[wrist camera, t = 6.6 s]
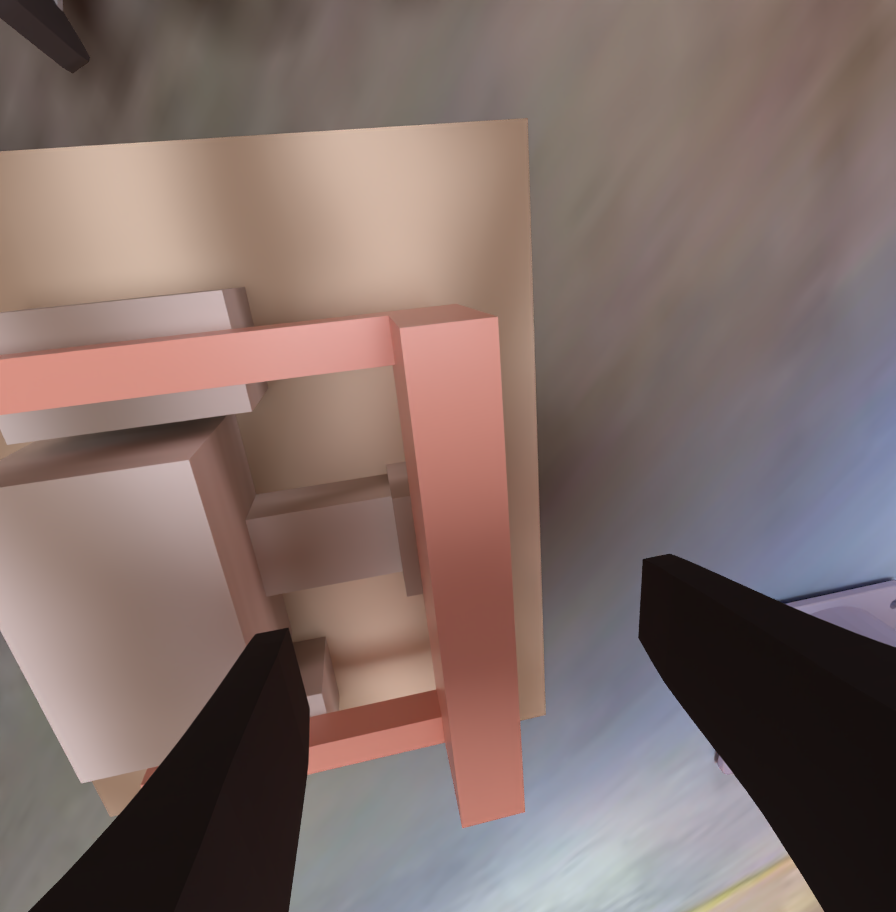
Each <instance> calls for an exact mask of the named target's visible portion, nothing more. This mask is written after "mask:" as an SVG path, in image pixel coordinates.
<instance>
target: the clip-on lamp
mask: <svg viewBox="0 0 896 912" xmlns="http://www.w3.org/2000/svg"><path fill="white" fill-rule="evenodd" d="M0 18H1V19H2V20H4V21H5V22H6V23H7V24H9V25H10V26H11V27H12V28H14V29H15V30H16V31H17V32H19V33H20V34H21V35H22V36H24V37H25V38H26V39H28V40H29V41H30V42H31V43H33V44H34V45H35V46H36V47H38V48H39V49H40V50H41V51H43V52H44V53H45V54H46V55H48V56H49V57H50V58H52V59H53V60H54V61H55V62H57V63H58V64H59V65H60V66H62V67H63V68H65V69H66V70H68V71H70V72H71V73H74V72H75V71H77V70H78V69H79V68H81V67H82V66H84V65H85V64H86V63H88V62H89V59H90V57H89V55H88V53H87V51H86V49H85V48H84V46H83V44H82V42H81V41H80V39H79V37H78V36H77V34H76V32H75V31H74V29H73V27H72V26H71V24H70V22H69V21H68V19H67V17H66V16H65V14H64V12H63V0H0Z"/></svg>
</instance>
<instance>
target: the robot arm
mask: <svg viewBox="0 0 896 912" xmlns="http://www.w3.org/2000/svg"><path fill="white" fill-rule="evenodd" d="M638 638H639V640H640V641H641V643H642V645H643V647H644V648H645V650H646V652H647V654H648V656H649V657H650V659H651V661H652V663H653V664H654V666H655V668H656V669H657V671H658V673H659V674H660V676H661V678H662V679H663V681H664V683H665V684H666V685H667V687H668V688H669V689H670V691H671V692H672V694H673V695H674V696H675V698H676V699H677V700H678V702H679V703H680V704H681V706H682V707H683V708H684V710H685V711H686V712H687V713H688V715H689V716H690V717H691V719H692V720H693V721H694V723H695V724H696V725H697V727H698V728H699V729H700V731H701V732H702V733H703V735H704V736H705V737H706V738H707V740H708V741H709V742H710V744H711V745H712V746H713V748H714V749H715V750H716V752H717V753H718V754H719V758H718V767H719V768H720V769H721V771H722V772H723V773H724V774H734V775H735V776H736V778H737V779H738V780H739V782H740V783H741V784H742V786H743V787H744V788H745V790H746V791H747V792H748V794H749V795H750V797H751V798H752V799H753V801H754V802H755V804H756V805H757V806H758V808H759V809H760V811H761V812H762V813H763V815H764V816H765V818H766V819H767V821H768V823H769V824H770V826H771V827H772V829H773V830H774V832H775V834H776V835H777V837H778V838H779V840H780V841H781V843H782V844H783V846H784V848H785V849H786V851H787V852H788V854H789V855H790V857H791V859H792V860H793V862H794V863H795V865H796V866H797V868H798V869H799V871H800V873H801V874H802V876H803V877H804V879H805V881H806V882H807V884H808V886H809V887H810V889H811V890H812V892H813V894H814V895H815V897H816V899H817V900H818V902H819V904H820V905H821V907H822V909H823V910H824V912H896V580H892V581H888V582H883V583H878V584H874V585H869V586H865V587H860V588H855V589H851V590H846V591H842V592H837V593H832V594H828V595H823V596H819V597H814V598H809V599H805V600H800V601H796V602H791V603H786V604H784V603H782V602H779V601H777V600H775V599H772V598H770V597H768V596H766V595H763V594H761V593H759V592H757V591H754V590H752V589H750V588H748V587H746V586H743V585H741V584H739V583H737V582H735V581H732V580H730V579H728V578H726V577H724V576H721V575H719V574H717V573H715V572H712V571H710V570H708V569H706V568H704V567H701V566H699V565H697V564H694V563H692V562H690V561H687V560H685V559H682V558H680V557H677V556H675V555H672V554H666V555H661V556H656V557H651V558H646V559H643V566H642V584H641V601H640V619H639V637H638ZM309 731H310V707H309V703H308V699H307V696H306V692H305V688H304V684H303V680H302V677H301V673H300V669H299V665H298V661H297V658H296V654H295V650H294V646H293V642H292V638H291V635H290V631H289V627H288V628H283V629H278V630H273V631H268V632H263V633H257V634H255V635H254V636H253V638H252V639H251V640H250V642H249V643H248V644H247V646H246V647H245V649H244V650H243V652H242V653H241V654H240V656H239V657H238V659H237V660H236V662H235V663H234V665H233V666H232V668H231V669H230V671H229V672H228V673H227V675H226V676H225V678H224V679H223V681H222V682H221V683H220V685H219V686H218V688H217V689H216V691H215V692H214V693H213V695H212V696H211V698H210V699H209V700H208V702H207V703H206V705H205V706H204V707H203V709H202V710H201V711H200V713H199V714H198V716H197V717H196V718H195V720H194V721H193V722H192V724H191V725H190V726H189V728H188V729H187V731H186V732H185V733H184V735H183V736H182V737H181V739H180V740H179V741H178V743H177V744H176V745H175V746H174V748H173V749H172V750H171V751H170V753H169V754H168V755H167V756H166V758H165V759H164V760H163V761H162V763H161V764H160V765H159V767H158V768H157V769H156V770H155V772H154V773H153V774H152V775H151V777H150V778H149V779H148V780H147V782H146V783H145V784H144V785H143V787H142V788H141V789H140V790H139V792H138V793H137V794H136V795H135V796H134V798H133V799H132V800H131V801H130V802H129V804H128V805H127V806H126V807H125V808H124V809H123V811H122V812H121V813H120V814H119V815H118V816H117V818H116V819H115V820H114V821H113V822H112V823H111V825H110V826H109V827H108V828H107V829H106V830H105V831H104V832H103V833H102V835H101V836H100V837H99V838H98V839H97V840H96V841H95V842H94V843H93V845H92V846H91V847H90V848H89V849H88V850H87V851H86V852H85V853H84V854H83V856H82V857H81V858H80V859H79V860H78V861H77V862H76V863H75V864H74V865H73V866H72V867H71V869H70V870H69V871H68V872H67V873H66V874H65V875H64V876H63V877H62V878H61V879H60V880H59V881H58V882H57V883H56V884H55V885H54V886H53V887H52V888H51V889H50V890H49V891H48V892H47V893H46V894H45V895H44V896H43V897H42V898H41V899H40V900H39V901H38V902H37V903H36V904H35V905H34V906H33V907H32V908H31V909H30V910H29V911H28V912H289V905H290V897H291V890H292V883H293V876H294V868H295V861H296V854H297V847H298V839H299V832H300V825H301V818H302V810H303V803H304V795H305V788H306V780H307V772H308V764H309Z"/></svg>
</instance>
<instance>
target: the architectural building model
mask: <svg viewBox="0 0 896 912" xmlns="http://www.w3.org/2000/svg"><path fill="white" fill-rule="evenodd" d="M450 304H459V305H462V306H465V307H468V308H472V309H475V310H478V311H481V312H485V313H488V314H491V315H494V316H497V317H498V326H499V344H500V363H501V381H502V399H503V418H504V436H505V454H506V473H507V491H508V509H509V528H510V546H511V564H512V583H513V601H514V619H515V638H516V656H517V674H518V693H519V711H520V721H522V720H526V719H530V718H534V717H539V716H543V715H546V711H545V678H544V645H543V612H542V579H541V546H540V513H539V480H538V447H537V414H536V381H535V348H534V315H533V282H532V249H531V216H530V183H529V150H528V118H524V119H508V120H492V121H476V122H460V123H444V124H428V125H412V126H397V127H381V128H365V129H349V130H333V131H317V132H301V133H286V134H270V135H254V136H238V137H222V138H206V139H190V140H174V141H159V142H143V143H127V144H111V145H95V146H79V147H63V148H48V149H32V150H16V151H0V355H5V354H14V353H23V352H32V351H41V350H50V349H59V348H67V347H76V346H85V345H94V344H103V343H112V342H121V341H130V340H139V339H148V338H156V337H165V336H174V335H183V334H192V333H201V332H210V331H219V330H228V329H237V328H245V327H254V326H263V325H272V324H281V323H290V322H299V321H308V320H317V319H326V318H335V317H343V316H352V315H361V314H370V313H379V312H388V311H397V310H406V309H415V308H424V307H432V306H441V305H450ZM288 627H289V631H290V635H291V638H292V642H293V646H294V650H295V654H296V658H297V661H298V665H299V669H300V673H301V677H302V680H303V684H304V688H305V692H306V696H307V699H308V703H309V707H310V717H313V716H317V715H322V714H327V713H331V712H336V711H340V710H345V709H349V708H354V707H358V706H363V705H368V704H372V703H377V702H381V701H386V700H390V699H395V698H400V697H404V696H409V695H413V694H418V693H422V692H427V691H431V690H436V684H435V677H434V669H433V662H432V655H431V647H430V640H429V632H428V625H427V617H426V610H425V602H424V595H423V587H422V580H421V573H420V565H419V558H418V550H417V543H416V535H415V528H414V520H413V513H412V506H411V498H410V491H409V483H408V476H407V468H406V461H405V453H404V446H403V439H402V431H401V424H400V416H399V409H398V401H397V394H396V386H395V379H394V372H393V365H390V366H382V367H375V368H367V369H359V370H351V371H343V372H335V373H327V374H320V375H312V376H304V377H296V378H288V379H280V380H272V381H264V382H257V383H249V384H241V385H233V386H225V387H217V388H209V389H202V390H194V391H186V392H178V393H170V394H162V395H154V396H147V397H139V398H131V399H123V400H115V401H107V402H99V403H92V404H84V405H76V406H68V407H60V408H52V409H44V410H37V411H29V412H21V413H13V414H5V415H0V631H1V632H2V634H3V636H4V638H5V640H6V642H7V644H8V646H9V648H10V649H11V651H12V653H13V655H14V657H15V659H16V661H17V663H18V665H19V666H20V668H21V670H22V672H23V674H24V676H25V678H26V680H27V682H28V683H29V685H30V687H31V689H32V691H33V693H34V695H35V697H36V699H37V700H38V702H39V704H40V706H41V708H42V710H43V712H44V714H45V716H46V717H47V719H48V721H49V723H50V725H51V727H52V729H53V731H54V733H55V734H56V736H57V738H58V740H59V742H60V744H61V746H62V748H63V750H64V751H65V753H66V755H67V757H68V759H69V761H70V763H71V765H72V767H73V769H74V770H75V772H76V774H77V776H78V778H79V780H80V782H81V783H85V782H90V781H92V782H93V784H94V786H95V788H96V790H97V792H98V794H99V796H100V798H101V800H102V802H103V804H104V806H105V808H106V809H107V811H108V813H109V815H110V817H112V816H116V815H119V814H120V813H121V812H122V811H123V809H124V808H125V807H126V806H127V805H128V804H129V802H130V801H131V800H132V799H133V798H134V796H135V795H136V794H137V793H138V792H139V790H140V789H141V786H140V785H141V783H142V780H143V778H144V775H145V773H146V770H147V769H148V768H152V767H157V766H159V765H160V764H161V763H162V761H163V760H164V759H165V758H166V756H167V755H168V754H169V753H170V751H171V750H172V749H173V748H174V746H175V745H176V744H177V743H178V741H179V740H180V739H181V737H182V736H183V735H184V733H185V732H186V731H187V729H188V728H189V726H190V725H191V724H192V722H193V721H194V720H195V718H196V717H197V716H198V714H199V713H200V711H201V710H202V709H203V707H204V706H205V705H206V703H207V702H208V700H209V699H210V698H211V696H212V695H213V693H214V692H215V691H216V689H217V688H218V686H219V685H220V683H221V682H222V681H223V679H224V678H225V676H226V675H227V673H228V672H229V671H230V669H231V668H232V666H233V665H234V663H235V662H236V660H237V659H238V657H239V656H240V654H241V653H242V652H243V650H244V649H245V647H246V646H247V644H248V643H249V642H250V640H251V639H252V638H253V636H254V635H255V634H257V633H263V632H268V631H273V630H278V629H283V628H288Z"/></svg>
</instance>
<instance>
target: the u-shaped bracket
mask: <svg viewBox="0 0 896 912" xmlns="http://www.w3.org/2000/svg"><path fill="white" fill-rule="evenodd" d="M390 365H393V372H394V379H395V386H396V394H397V401H398V409H399V416H400V424H401V431H402V439H403V446H404V453H405V461H406V468H407V476H408V483H409V491H410V498H411V506H412V513H413V520H414V528H415V535H416V543H417V550H418V558H419V565H420V573H421V580H422V587H423V595H424V602H425V610H426V617H427V625H428V632H429V640H430V647H431V655H432V662H433V669H434V677H435V684H436V690H431V691H427V692H422V693H418V694H413V695H409V696H404V697H400V698H395V699H390V700H386V701H381V702H377V703H372V704H368V705H363V706H358V707H354V708H349V709H345V710H340V711H336V712H331V713H327V714H322V715H317V716H313V717H310V731H309V764H308V772H307V775H308V774H313V773H317V772H321V771H325V770H330V769H334V768H338V767H342V766H347V765H351V764H355V763H360V762H364V761H368V760H372V759H377V758H381V757H385V756H389V755H394V754H398V753H402V752H406V751H411V750H415V749H419V748H423V747H428V746H432V745H436V744H441V743H445V744H446V749H447V754H448V759H449V764H450V769H451V774H452V779H453V784H454V789H455V794H456V799H457V804H458V809H459V814H460V819H461V824H462V828H465V827H469V826H473V825H477V824H481V823H484V822H488V821H492V820H496V819H500V818H504V817H508V816H511V815H515V814H519V813H523V812H525V803H524V785H523V766H522V748H521V729H520V711H519V693H518V674H517V656H516V638H515V619H514V601H513V583H512V564H511V546H510V528H509V509H508V491H507V473H506V454H505V436H504V418H503V399H502V381H501V363H500V344H499V326H498V317H497V316H494V315H491V314H488V313H485V312H481V311H478V310H475V309H472V308H468V307H465V306H462V305H459V304H450V305H441V306H432V307H424V308H415V309H406V310H397V311H388V312H379V313H370V314H361V315H352V316H343V317H335V318H326V319H317V320H308V321H299V322H290V323H281V324H272V325H263V326H254V327H245V328H237V329H228V330H219V331H210V332H201V333H192V334H183V335H174V336H165V337H156V338H148V339H139V340H130V341H121V342H112V343H103V344H94V345H85V346H76V347H67V348H59V349H50V350H41V351H32V352H23V353H14V354H5V355H0V415H5V414H13V413H21V412H29V411H37V410H44V409H52V408H60V407H68V406H76V405H84V404H92V403H99V402H107V401H115V400H123V399H131V398H139V397H147V396H154V395H162V394H170V393H178V392H186V391H194V390H202V389H209V388H217V387H225V386H233V385H241V384H249V383H257V382H264V381H272V380H280V379H288V378H296V377H304V376H312V375H320V374H327V373H335V372H343V371H351V370H359V369H367V368H375V367H382V366H390ZM158 767H159V766H157V767H152V768H148V769H147V770H146V773H145V775H144V778H143V780H142V783H141V785H140V786H141V788H142V787H143V785H144V784H145V783H146V782H147V780H148V779H149V778H150V777H151V775H152V774H153V773H154V772H155V770H156V769H157V768H158Z"/></svg>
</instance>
